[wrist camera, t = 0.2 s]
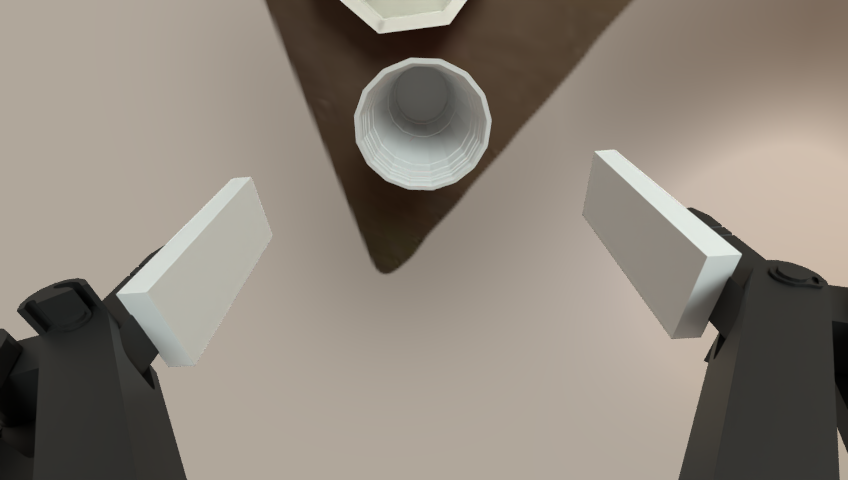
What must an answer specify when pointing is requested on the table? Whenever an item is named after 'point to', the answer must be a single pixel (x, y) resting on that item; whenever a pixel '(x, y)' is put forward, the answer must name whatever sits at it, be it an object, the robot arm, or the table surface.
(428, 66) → the plastic cup
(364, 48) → the table surface
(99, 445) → the robot arm
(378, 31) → the white octagonal tray
